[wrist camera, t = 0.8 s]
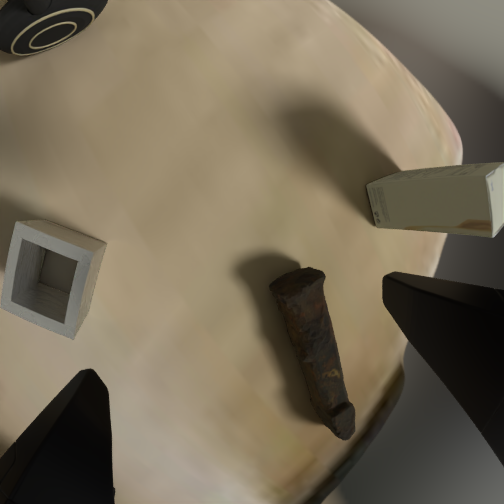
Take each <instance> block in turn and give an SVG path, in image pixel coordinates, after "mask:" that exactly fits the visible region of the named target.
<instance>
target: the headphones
mask: <svg viewBox="0 0 504 504" xmlns="http://www.w3.org/2000/svg"><path fill="white" fill-rule="evenodd" d="M107 1H108V0H8V2H7V3H6V4H5V5H4V6H3V7H2V9H1V10H0V50H2V51H4V52H7V53H10V54H15V55H20V56H23V55H31V54H35V53H39V52H42V51H45V50H48V49H50V48H53V47H55V46H58V45H60V44H62V43H64V42H66V41H68V40H70V39H72V38H73V37H75V36H77V35H78V34H80V33H81V32H83V31H84V30H85V29H86V28H88V27H89V26H90V25H91V23H92V22H93V21H94V20H95V19H96V18H97V17H98V15H99V14H100V13H101V12H102V10H103V9H104V7H105V6H106V4H107Z"/></svg>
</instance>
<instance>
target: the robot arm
mask: <svg viewBox="0 0 504 504" xmlns="http://www.w3.org/2000/svg"><path fill="white" fill-rule="evenodd" d="M382 299H383V303H384V305H385V307H386V308H387V310H388V311H389V313H390V314H391V316H392V317H393V319H394V320H395V321H396V323H397V324H398V326H399V327H400V329H401V330H402V332H403V333H404V335H405V336H406V338H407V339H408V340H409V342H410V343H411V344H412V345H413V346H414V348H415V349H416V350H417V351H418V353H419V354H420V355H421V356H422V357H423V359H424V360H425V361H426V362H427V363H428V365H429V366H430V367H431V368H432V369H433V371H434V372H435V373H436V375H437V376H438V377H439V378H440V380H441V381H442V382H443V383H444V385H445V386H446V387H447V388H448V390H449V391H450V392H451V394H452V395H453V396H454V397H455V399H456V400H457V401H458V403H459V404H460V405H461V407H462V408H463V409H464V411H465V412H466V413H467V415H468V416H469V417H470V419H471V420H472V421H473V423H474V424H475V426H476V427H477V428H478V430H479V431H480V432H482V433H481V434H482V436H483V437H484V438H485V440H486V441H487V443H488V444H489V446H490V447H491V448H492V450H493V451H494V453H495V454H496V456H497V457H498V459H499V460H500V462H501V463H502V465H503V466H504V290H502V289H494V288H490V287H484V286H479V285H473V284H466V283H461V282H455V281H449V280H443V279H437V278H431V277H425V276H419V275H413V274H408V273H402V272H392V273H389V274H387V275H385V276H384V277H383V280H382ZM114 496H115V488H114V487H113V470H112V431H111V419H110V405H109V392H108V389H107V387H106V385H105V384H104V383H103V381H102V380H101V379H100V377H99V376H98V375H97V373H96V372H95V371H94V370H93V369H91V368H90V369H85V370H81V371H79V372H78V373H77V374H76V375H75V377H74V378H73V379H72V380H71V381H70V382H69V383H68V384H67V385H66V386H65V387H64V388H63V389H62V390H61V391H60V392H59V393H58V395H57V396H56V397H55V398H54V399H53V400H52V401H51V402H50V403H49V404H48V405H47V406H46V407H45V409H44V410H43V411H42V412H41V413H40V414H39V415H38V416H37V417H36V418H35V420H34V421H33V422H32V423H31V424H30V425H29V426H28V427H27V429H26V430H25V431H24V432H23V433H22V434H21V435H20V436H19V438H18V439H17V440H16V442H14V443H13V444H12V446H11V447H10V448H9V449H8V450H7V451H6V452H5V453H4V455H3V456H2V457H1V458H0V504H115V502H114Z"/></svg>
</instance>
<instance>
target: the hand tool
mask: <svg viewBox="0 0 504 504" xmlns="http://www.w3.org/2000/svg"><path fill="white" fill-rule="evenodd" d="M324 280H325V274H324V273H323V271H321V270H317V269H313V268H311V267H307V268H302V269H297V270H296V271H294V272H291V273H287V274H285V275H283V276H281V277H279V278H278V279H276V280H275V281H274V282H272V283H271V284H270V286H269V288H270V290H271V291H272V292H273V296H274V297H275V298H276V299H277V304H278V309H279V310H280V311H281V312H283V314H284V318H285V321H286V324H287V329H288V333H289V335H290V339H291V341H292V344H293V346H295V349H296V352H297V357H298V359H299V362H300V365H301V367H302V370H303V373H304V376H305V379H306V382H307V385H308V388H309V390H310V394H311V399H310V400H311V403H312V405H313V407H314V409H315V411H316V413H317V414H318V415H319V417H320V418H321V419H322V421H323V422H324V424H325V426H326V427H328V428H329V429H330V430H331V431H332V432H333V433H334V435H335V436H337V437H338V438H341V439H342V440H348V439H350V437H351V436H352V435H353V434H354V432H355V409H354V406H353V404H352V403H351V402H349V400H348V395H347V391H346V388H345V384H344V381H343V373H342V368H341V363H340V357H339V353H338V348H337V343H336V340H335V335H334V331H333V327H332V322H331V319H330V315H329V312H328V308H327V303H326V300H325V296H324V291H323V283H324Z"/></svg>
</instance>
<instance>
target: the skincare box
mask: <svg viewBox="0 0 504 504" xmlns="http://www.w3.org/2000/svg"><path fill="white" fill-rule="evenodd" d="M366 187H367V191H368V195H369V200H370V204H371V208H372V212H373V216H374V220H375V224H376V227H377V228H386V229H402V230H416V231H429V232H441V233H453V234H465V235H475V236H484V237H494V236H495V235H496V234H497V233H498V232H499V231H500V229H501V228H502V227H503V226H504V162H501V163H483V164H469V165H456V166H445V167H434V168H425V169H415V170H406V171H401V172H397V173H394V174H391V175H388V176H386V177H383V178H381V179H378V180H376V181H373V182H371V183H369V184H367V185H366Z"/></svg>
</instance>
